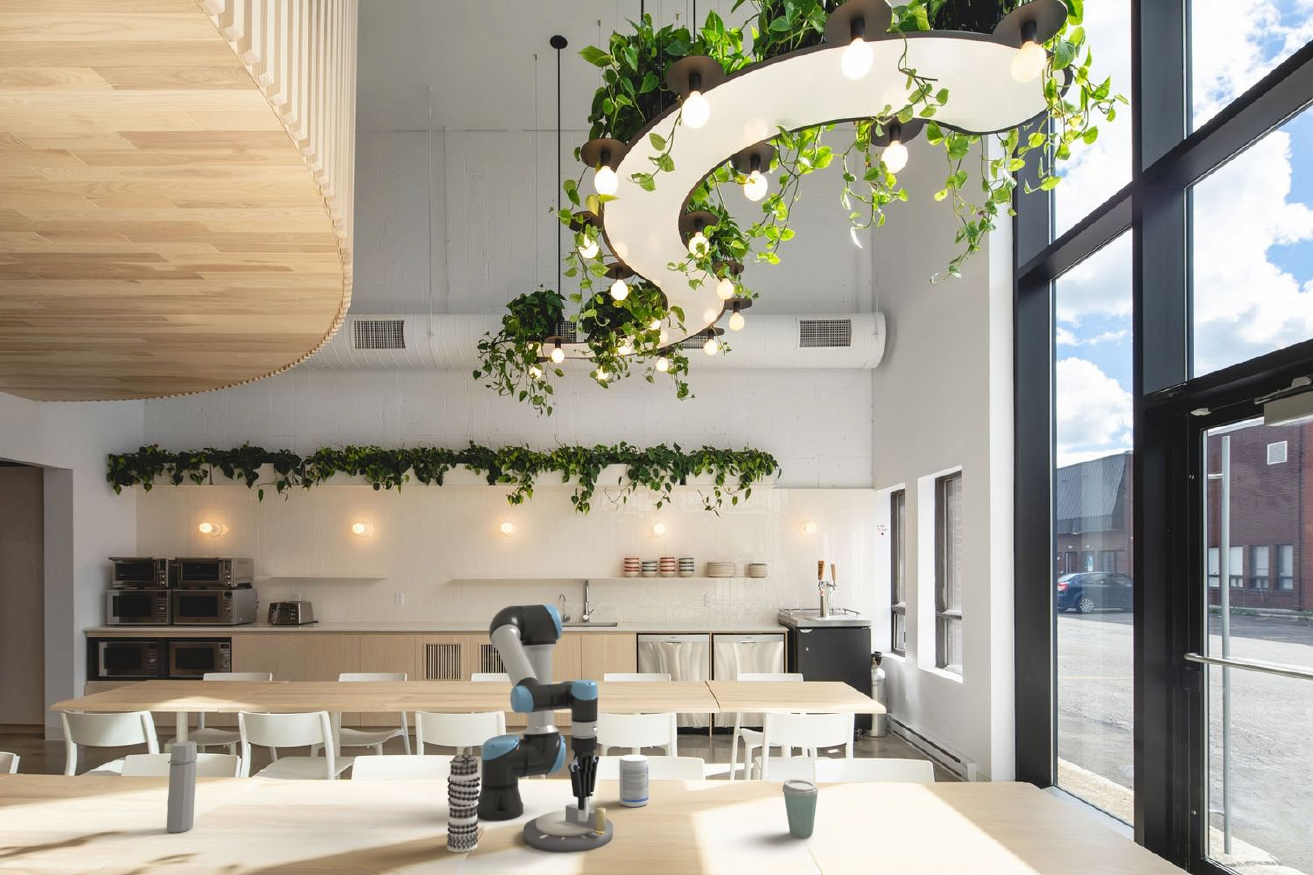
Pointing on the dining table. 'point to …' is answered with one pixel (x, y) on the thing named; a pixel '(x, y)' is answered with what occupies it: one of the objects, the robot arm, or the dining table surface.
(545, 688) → the robot arm
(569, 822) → the dial
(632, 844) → the dining table surface
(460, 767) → the decorative candle
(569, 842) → the dial base
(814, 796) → the disposable coffee cup
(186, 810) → the water bottle
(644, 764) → the supplement tub
